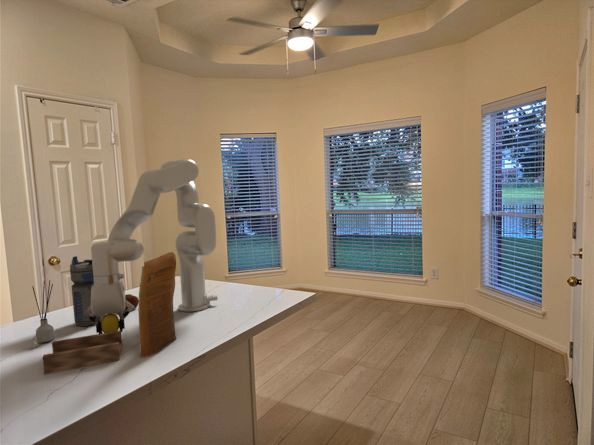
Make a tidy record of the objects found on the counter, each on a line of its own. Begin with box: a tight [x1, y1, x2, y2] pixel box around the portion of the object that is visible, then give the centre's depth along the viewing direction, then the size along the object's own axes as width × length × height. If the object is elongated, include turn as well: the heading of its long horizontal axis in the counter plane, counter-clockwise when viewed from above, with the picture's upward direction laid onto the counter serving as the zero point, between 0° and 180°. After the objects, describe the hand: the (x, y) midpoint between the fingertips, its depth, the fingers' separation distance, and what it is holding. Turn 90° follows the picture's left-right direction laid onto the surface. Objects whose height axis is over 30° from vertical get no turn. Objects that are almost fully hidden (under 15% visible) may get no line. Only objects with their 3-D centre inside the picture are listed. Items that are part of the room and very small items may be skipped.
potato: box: [124, 293, 139, 311], centre depth 150 cm, size 7×9×6 cm
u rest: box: [41, 330, 123, 375], centre depth 104 cm, size 18×12×5 cm, turn 112°
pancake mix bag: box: [137, 251, 177, 358], centre depth 110 cm, size 7×19×28 cm, turn 165°
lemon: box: [101, 313, 120, 333], centre depth 121 cm, size 6×6×8 cm
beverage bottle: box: [69, 255, 107, 327], centre depth 135 cm, size 10×13×25 cm
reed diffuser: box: [29, 280, 55, 349], centre depth 117 cm, size 10×7×20 cm
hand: (111, 332), depth 121 cm, fingers closed on lemon, 5 cm apart
